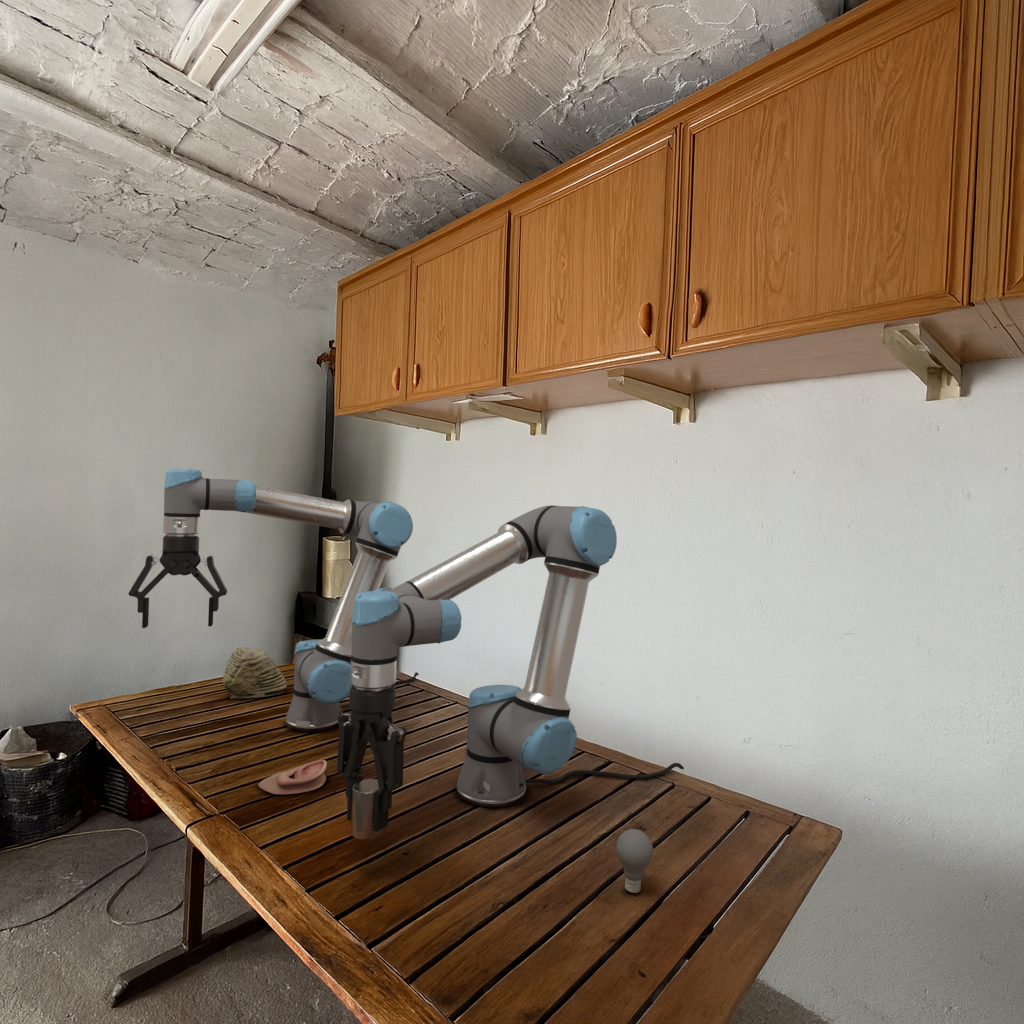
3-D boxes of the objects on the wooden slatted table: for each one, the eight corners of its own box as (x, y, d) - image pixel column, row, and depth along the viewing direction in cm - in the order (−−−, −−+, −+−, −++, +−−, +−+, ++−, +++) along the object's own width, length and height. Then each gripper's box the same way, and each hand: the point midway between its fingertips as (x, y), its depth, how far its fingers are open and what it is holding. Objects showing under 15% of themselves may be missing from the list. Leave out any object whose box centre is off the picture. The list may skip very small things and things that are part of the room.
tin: (362, 843, 103) (363, 796, 102) (344, 830, 106) (346, 784, 106) (389, 831, 106) (391, 786, 106) (371, 819, 110) (373, 776, 110)
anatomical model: (250, 772, 134) (280, 751, 146) (249, 790, 135) (280, 768, 146) (307, 780, 132) (333, 759, 143) (306, 799, 132) (333, 776, 143)
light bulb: (610, 879, 108) (613, 822, 108) (644, 879, 109) (647, 822, 109) (619, 902, 102) (622, 840, 102) (655, 901, 103) (658, 840, 103)
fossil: (218, 695, 195) (220, 647, 195) (278, 685, 208) (279, 640, 207) (228, 703, 189) (230, 653, 188) (289, 692, 201) (290, 645, 201)
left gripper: (115, 534, 139) (112, 630, 140) (238, 537, 148) (235, 627, 148) (123, 532, 146) (120, 624, 147) (240, 535, 155) (237, 621, 155)
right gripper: (317, 679, 107) (312, 815, 108) (399, 701, 98) (393, 850, 98) (349, 670, 114) (344, 798, 114) (430, 690, 104) (424, 829, 105)
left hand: (178, 626), depth 147 cm, fingers open, 13 cm apart
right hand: (367, 822), depth 106 cm, fingers closed on tin, 5 cm apart
